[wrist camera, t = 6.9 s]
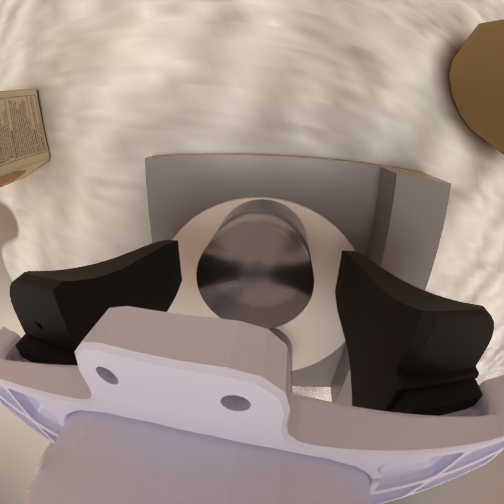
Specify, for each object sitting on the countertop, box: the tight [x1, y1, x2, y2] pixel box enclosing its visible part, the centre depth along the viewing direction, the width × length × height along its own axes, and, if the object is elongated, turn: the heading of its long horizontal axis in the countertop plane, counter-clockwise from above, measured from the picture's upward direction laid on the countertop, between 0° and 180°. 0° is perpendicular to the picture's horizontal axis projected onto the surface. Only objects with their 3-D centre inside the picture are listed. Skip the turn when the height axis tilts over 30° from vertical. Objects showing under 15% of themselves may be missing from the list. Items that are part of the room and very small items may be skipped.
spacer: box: [196, 199, 314, 329], centre depth 12 cm, size 4×4×4 cm
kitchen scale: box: [145, 154, 451, 406], centre depth 15 cm, size 16×15×3 cm
